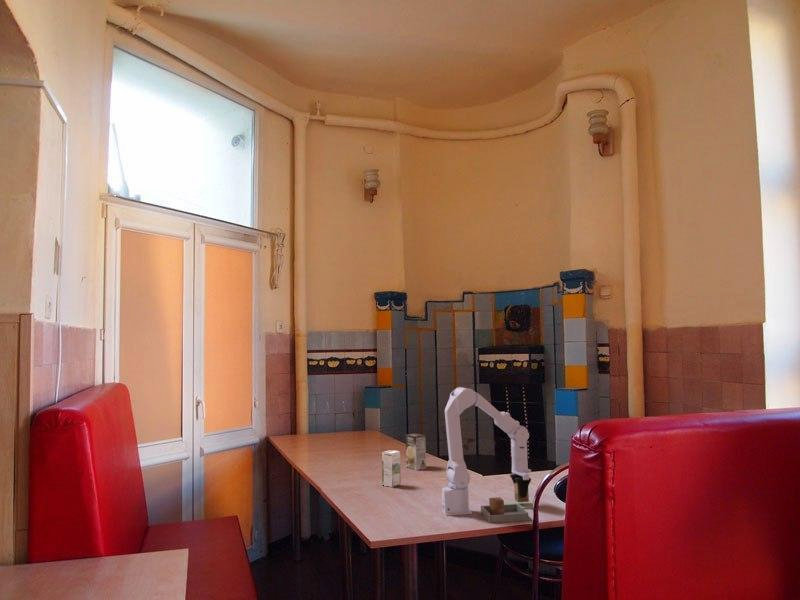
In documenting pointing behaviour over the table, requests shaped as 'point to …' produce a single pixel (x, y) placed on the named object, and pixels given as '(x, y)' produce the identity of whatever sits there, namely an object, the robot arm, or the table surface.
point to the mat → (523, 504)
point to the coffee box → (415, 451)
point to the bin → (506, 514)
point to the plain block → (496, 506)
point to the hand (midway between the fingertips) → (521, 495)
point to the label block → (517, 496)
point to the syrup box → (391, 468)
